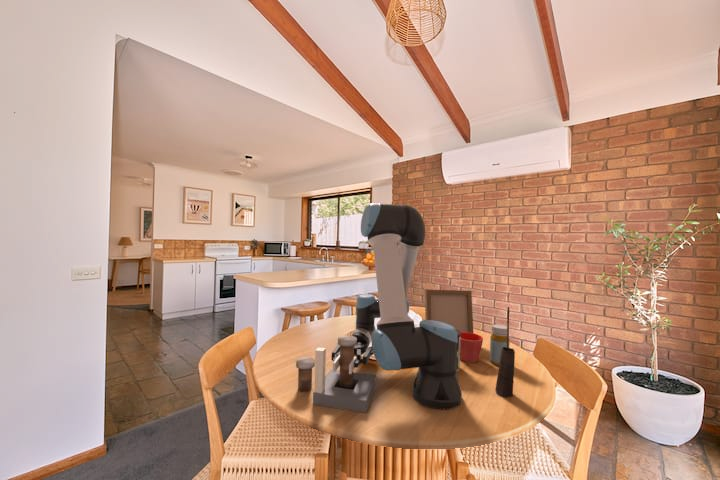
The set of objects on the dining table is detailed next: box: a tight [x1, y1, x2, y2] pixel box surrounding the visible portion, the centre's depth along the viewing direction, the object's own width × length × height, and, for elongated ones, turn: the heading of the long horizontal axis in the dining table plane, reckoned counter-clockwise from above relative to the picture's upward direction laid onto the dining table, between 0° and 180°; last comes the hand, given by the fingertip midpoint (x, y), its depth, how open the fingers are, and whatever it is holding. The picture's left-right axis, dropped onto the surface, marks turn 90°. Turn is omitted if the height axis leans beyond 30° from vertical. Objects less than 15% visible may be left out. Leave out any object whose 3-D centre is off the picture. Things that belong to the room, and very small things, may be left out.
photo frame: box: [424, 289, 474, 333], centre depth 147 cm, size 15×22×25 cm
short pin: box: [295, 356, 315, 393], centre depth 97 cm, size 6×6×9 cm
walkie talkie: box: [495, 306, 516, 398], centre depth 96 cm, size 9×10×28 cm
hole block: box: [312, 347, 377, 414], centre depth 94 cm, size 16×16×16 cm
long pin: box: [337, 334, 357, 390], centre depth 94 cm, size 6×6×16 cm
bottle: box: [489, 323, 510, 367], centre depth 121 cm, size 7×7×15 cm
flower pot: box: [460, 332, 484, 364], centre depth 124 cm, size 11×11×10 cm
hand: (342, 368), depth 88 cm, fingers closed on long pin, 4 cm apart
